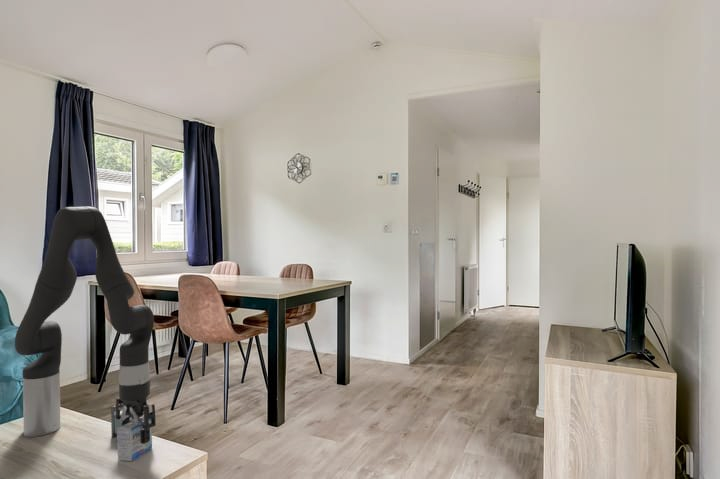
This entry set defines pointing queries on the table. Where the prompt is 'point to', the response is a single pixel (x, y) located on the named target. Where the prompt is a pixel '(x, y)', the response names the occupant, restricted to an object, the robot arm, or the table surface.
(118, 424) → the gate
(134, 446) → the medicine box
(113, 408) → the gate post
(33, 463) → the table surface
